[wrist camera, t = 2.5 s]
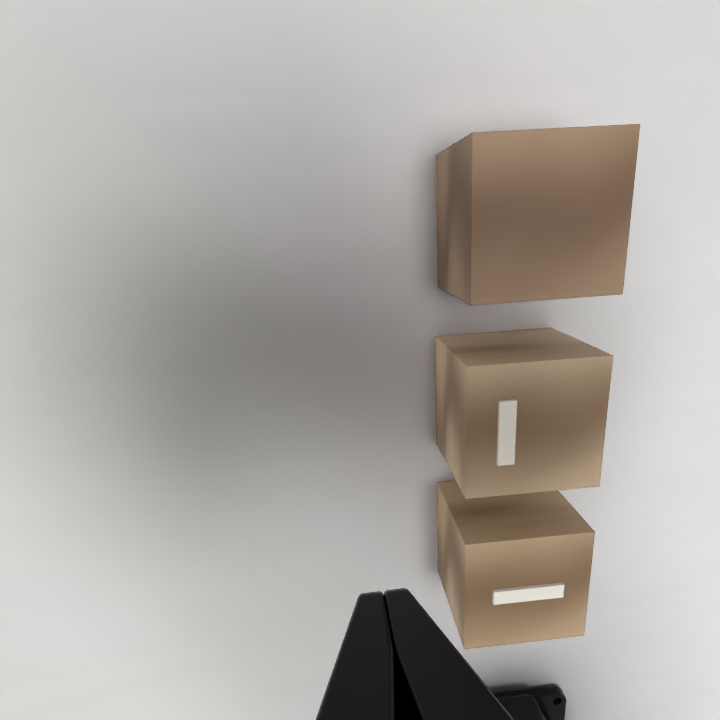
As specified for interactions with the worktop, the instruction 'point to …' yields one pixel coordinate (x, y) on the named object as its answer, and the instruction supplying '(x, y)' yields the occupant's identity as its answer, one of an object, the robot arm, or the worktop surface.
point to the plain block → (535, 213)
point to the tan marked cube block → (521, 411)
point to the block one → (513, 566)
